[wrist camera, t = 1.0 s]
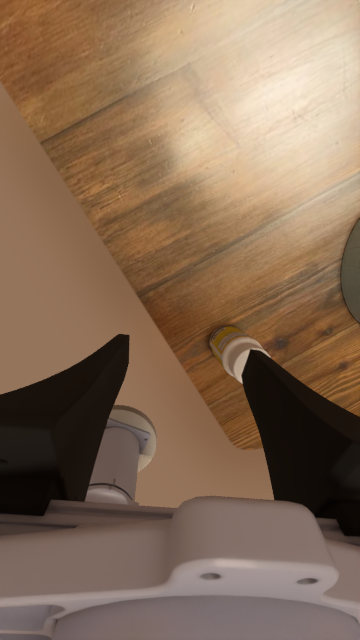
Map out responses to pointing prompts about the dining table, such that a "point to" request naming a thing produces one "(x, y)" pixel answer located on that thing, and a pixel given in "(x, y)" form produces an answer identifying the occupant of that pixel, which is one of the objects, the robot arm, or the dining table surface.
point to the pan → (352, 273)
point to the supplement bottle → (233, 349)
